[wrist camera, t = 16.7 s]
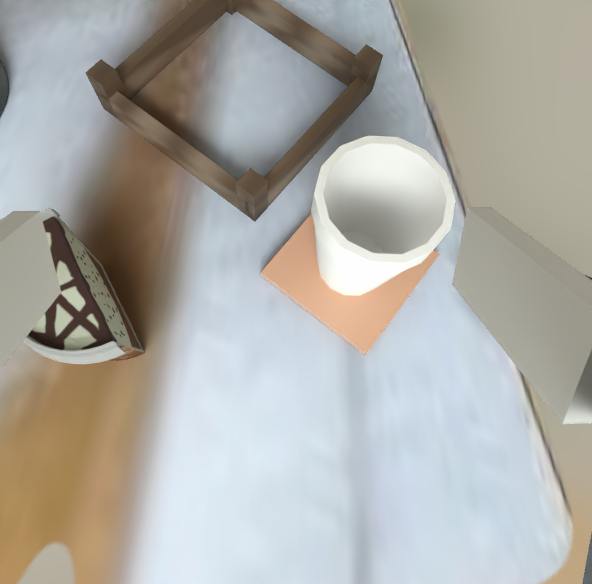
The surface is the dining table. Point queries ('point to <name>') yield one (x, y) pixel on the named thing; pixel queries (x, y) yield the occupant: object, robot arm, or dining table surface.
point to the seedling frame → (178, 36)
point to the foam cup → (378, 212)
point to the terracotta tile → (331, 304)
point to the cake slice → (81, 306)
